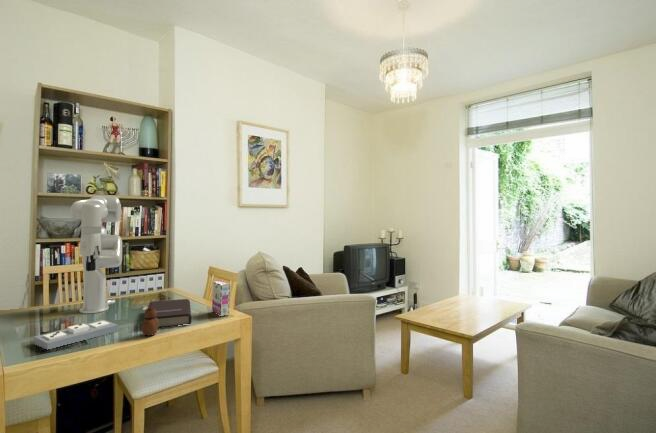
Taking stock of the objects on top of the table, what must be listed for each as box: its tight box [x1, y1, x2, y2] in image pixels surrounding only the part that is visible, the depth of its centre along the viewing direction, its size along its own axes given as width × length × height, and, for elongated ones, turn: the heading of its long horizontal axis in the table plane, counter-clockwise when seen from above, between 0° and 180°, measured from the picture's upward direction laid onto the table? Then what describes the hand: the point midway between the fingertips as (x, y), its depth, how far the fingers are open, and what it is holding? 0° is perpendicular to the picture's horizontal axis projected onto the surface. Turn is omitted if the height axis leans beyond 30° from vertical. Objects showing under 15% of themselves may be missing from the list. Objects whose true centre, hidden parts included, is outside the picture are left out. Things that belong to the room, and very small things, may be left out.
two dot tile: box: [67, 323, 89, 334], centre depth 138 cm, size 6×6×3 cm
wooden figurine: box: [141, 302, 159, 336], centre depth 143 cm, size 7×6×15 cm
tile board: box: [33, 319, 119, 350], centre depth 138 cm, size 25×12×3 cm, turn 150°
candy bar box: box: [211, 280, 231, 315], centre depth 174 cm, size 11×5×16 cm, turn 41°
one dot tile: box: [89, 320, 110, 328], centre depth 145 cm, size 6×6×3 cm
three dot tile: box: [42, 330, 67, 341], centre depth 131 cm, size 6×6×3 cm
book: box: [143, 298, 192, 329], centre depth 165 cm, size 28×20×6 cm
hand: (90, 270), depth 153 cm, fingers closed
